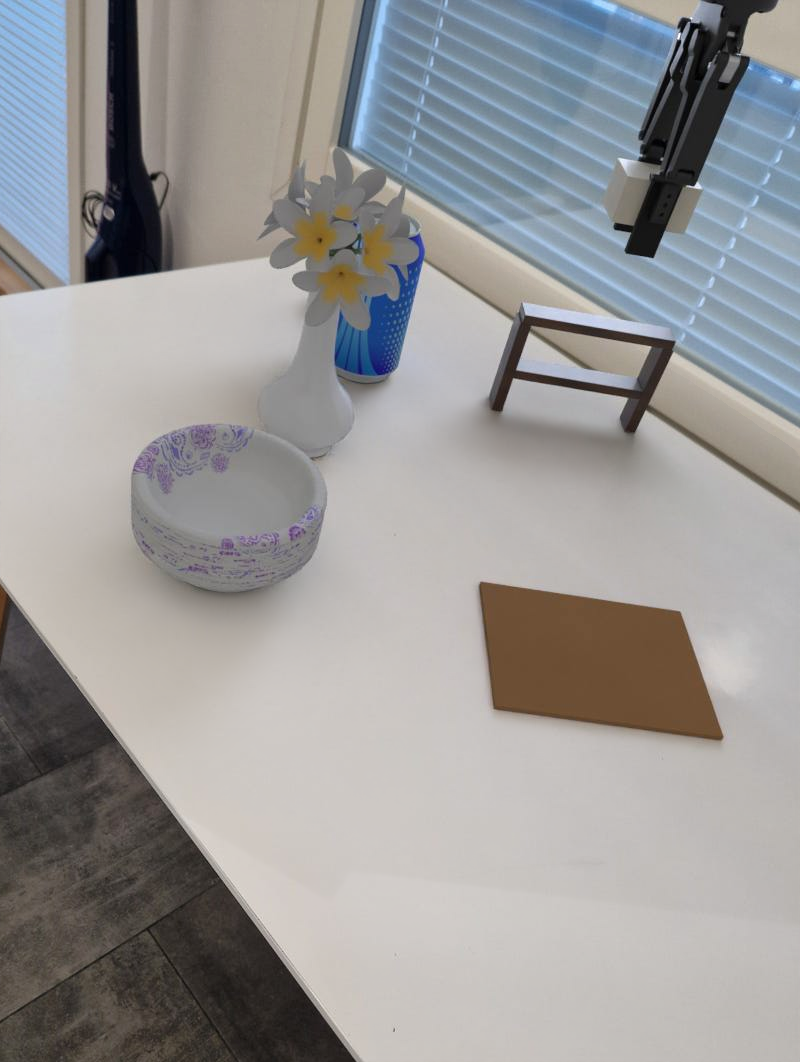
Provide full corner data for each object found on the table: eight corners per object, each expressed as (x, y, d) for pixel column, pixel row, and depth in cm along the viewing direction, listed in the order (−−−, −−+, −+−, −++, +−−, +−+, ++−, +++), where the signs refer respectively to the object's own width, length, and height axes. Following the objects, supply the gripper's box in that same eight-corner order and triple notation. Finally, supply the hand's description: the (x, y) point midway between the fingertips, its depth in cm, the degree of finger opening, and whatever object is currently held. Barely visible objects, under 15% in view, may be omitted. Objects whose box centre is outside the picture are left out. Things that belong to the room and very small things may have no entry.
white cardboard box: (671, 214, 87) (689, 170, 84) (684, 234, 83) (703, 189, 80) (601, 202, 86) (617, 157, 83) (611, 222, 83) (628, 176, 80)
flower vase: (257, 504, 80) (295, 219, 62) (227, 392, 92) (251, 126, 74) (394, 502, 84) (467, 232, 66) (348, 394, 96) (399, 141, 78)
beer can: (341, 339, 104) (367, 196, 93) (407, 365, 102) (442, 222, 91) (309, 368, 98) (333, 219, 87) (378, 395, 96) (412, 247, 85)
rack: (629, 418, 102) (671, 328, 94) (634, 433, 100) (678, 341, 92) (489, 395, 100) (519, 301, 93) (491, 409, 98) (523, 314, 90)
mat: (678, 614, 79) (680, 611, 78) (721, 740, 69) (724, 737, 69) (479, 584, 77) (480, 581, 77) (494, 709, 67) (495, 705, 67)
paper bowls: (252, 647, 68) (264, 570, 62) (91, 562, 72) (88, 482, 66) (345, 546, 78) (362, 471, 72) (199, 476, 82) (205, 399, 76)
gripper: (677, -84, 76) (580, 201, 92) (737, -48, 63) (612, 275, 80) (761, -67, 76) (650, 213, 93) (838, -28, 64) (693, 289, 80)
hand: (632, 241), depth 86 cm, fingers closed on white cardboard box, 5 cm apart
